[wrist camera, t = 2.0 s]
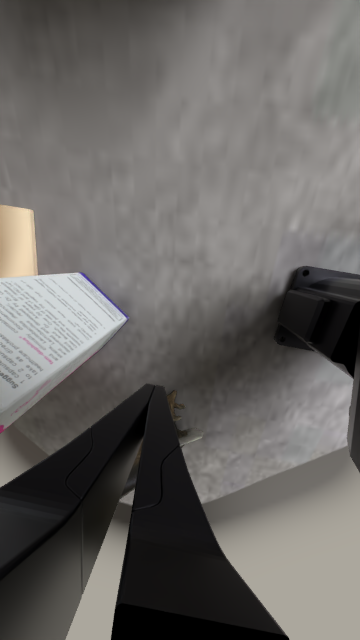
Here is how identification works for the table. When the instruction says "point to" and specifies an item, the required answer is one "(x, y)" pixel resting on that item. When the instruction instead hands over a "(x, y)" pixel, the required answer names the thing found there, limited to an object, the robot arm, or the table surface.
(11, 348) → the supplement box
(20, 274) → the pale gold metal plate
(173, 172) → the table surface
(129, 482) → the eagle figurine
